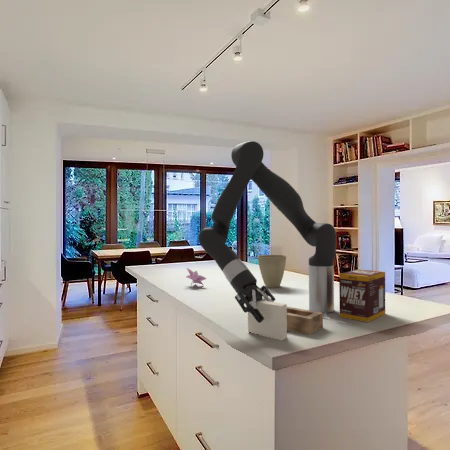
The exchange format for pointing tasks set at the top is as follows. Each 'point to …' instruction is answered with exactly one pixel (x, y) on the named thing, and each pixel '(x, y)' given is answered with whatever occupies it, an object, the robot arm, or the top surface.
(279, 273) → the plant pot
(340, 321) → the scissors
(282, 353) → the top surface
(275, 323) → the white rectangular block
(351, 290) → the supplement box
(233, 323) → the top surface
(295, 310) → the walnut box
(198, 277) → the lily
